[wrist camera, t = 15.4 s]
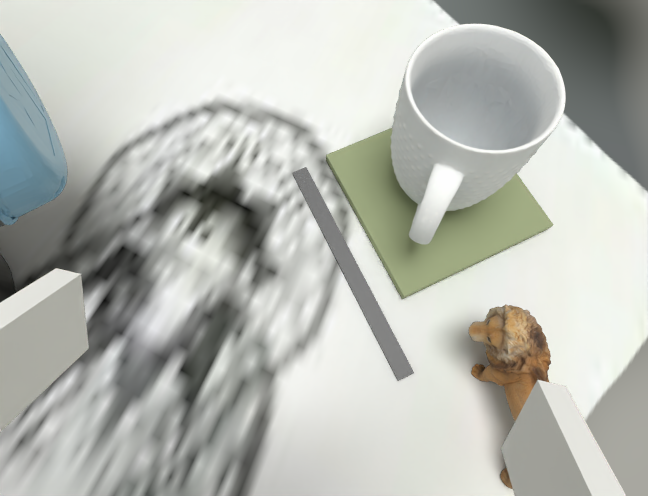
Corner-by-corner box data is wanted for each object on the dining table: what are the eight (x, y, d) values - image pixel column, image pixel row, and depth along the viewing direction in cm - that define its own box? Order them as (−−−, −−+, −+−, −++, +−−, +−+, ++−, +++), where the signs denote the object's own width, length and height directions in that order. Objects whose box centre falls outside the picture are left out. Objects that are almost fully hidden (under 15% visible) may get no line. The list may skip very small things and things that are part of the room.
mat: (326, 160, 42) (326, 155, 41) (459, 105, 44) (462, 98, 43) (402, 299, 37) (404, 296, 36) (547, 228, 39) (553, 224, 38)
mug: (463, 285, 36) (535, 231, 24) (348, 241, 38) (359, 168, 25) (504, 152, 41) (582, 48, 28) (400, 117, 42) (432, 4, 30)
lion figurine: (438, 330, 36) (473, 311, 27) (493, 312, 36) (544, 288, 28) (513, 514, 31) (583, 560, 23) (574, 490, 32) (666, 526, 23)
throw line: (292, 174, 41) (292, 172, 41) (306, 168, 41) (306, 167, 41) (397, 380, 34) (398, 380, 34) (413, 372, 35) (414, 372, 34)
